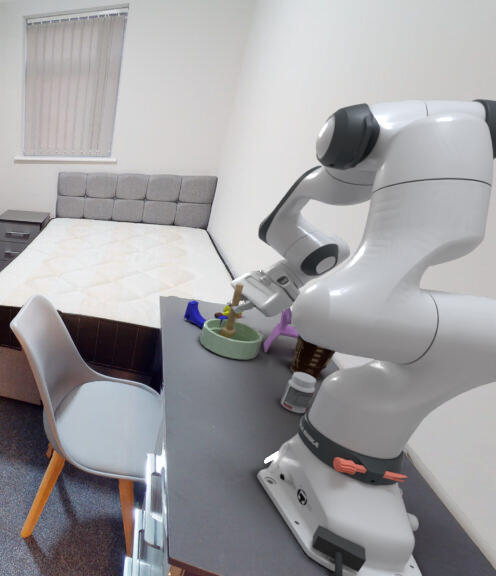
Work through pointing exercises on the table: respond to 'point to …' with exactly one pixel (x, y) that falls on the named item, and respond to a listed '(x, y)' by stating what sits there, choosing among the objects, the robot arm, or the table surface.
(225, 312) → the toy figure
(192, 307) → the blue curved piece
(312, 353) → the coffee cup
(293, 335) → the toy chair
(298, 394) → the pill bottle
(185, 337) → the table surface
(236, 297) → the stirring stick
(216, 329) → the bowl
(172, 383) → the table surface
